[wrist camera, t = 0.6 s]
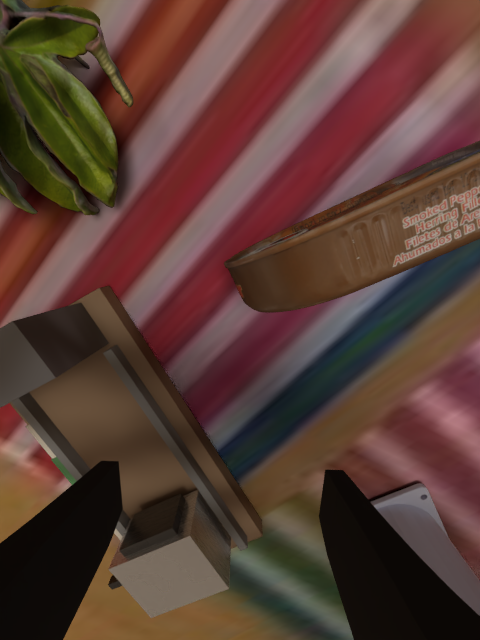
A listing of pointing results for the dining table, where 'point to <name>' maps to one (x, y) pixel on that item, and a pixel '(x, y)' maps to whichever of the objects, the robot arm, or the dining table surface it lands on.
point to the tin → (365, 237)
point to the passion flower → (55, 106)
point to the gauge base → (114, 410)
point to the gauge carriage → (173, 554)
